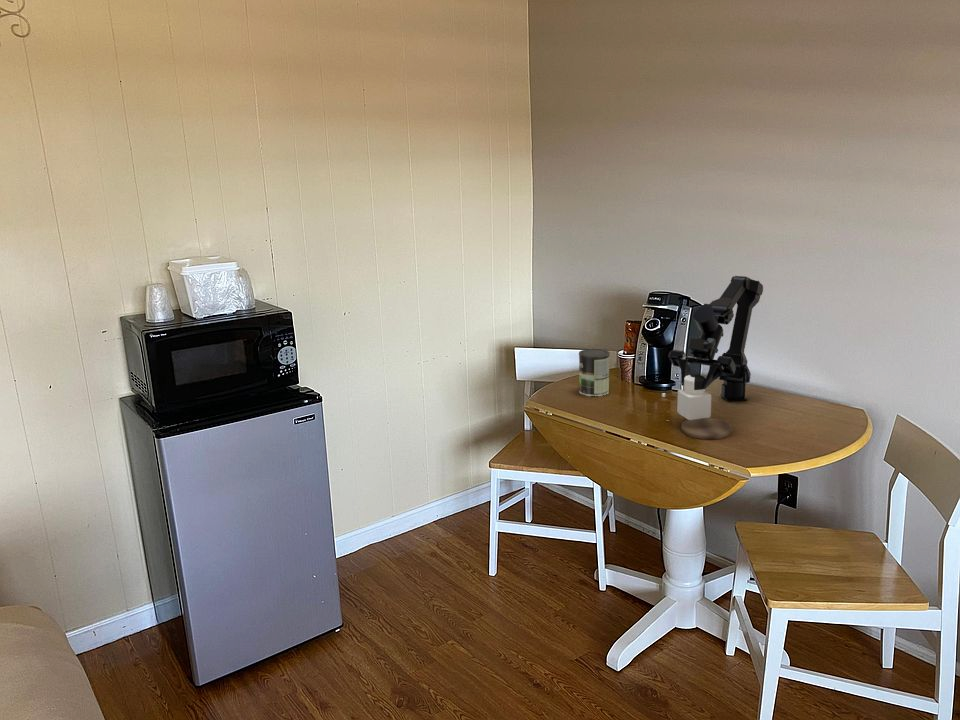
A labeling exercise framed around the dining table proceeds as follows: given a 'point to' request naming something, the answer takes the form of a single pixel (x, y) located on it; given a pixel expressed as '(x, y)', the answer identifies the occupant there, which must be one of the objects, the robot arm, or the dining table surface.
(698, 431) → the brown flat disc
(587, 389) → the coffee can
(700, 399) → the medicine bottle
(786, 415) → the dining table surface
